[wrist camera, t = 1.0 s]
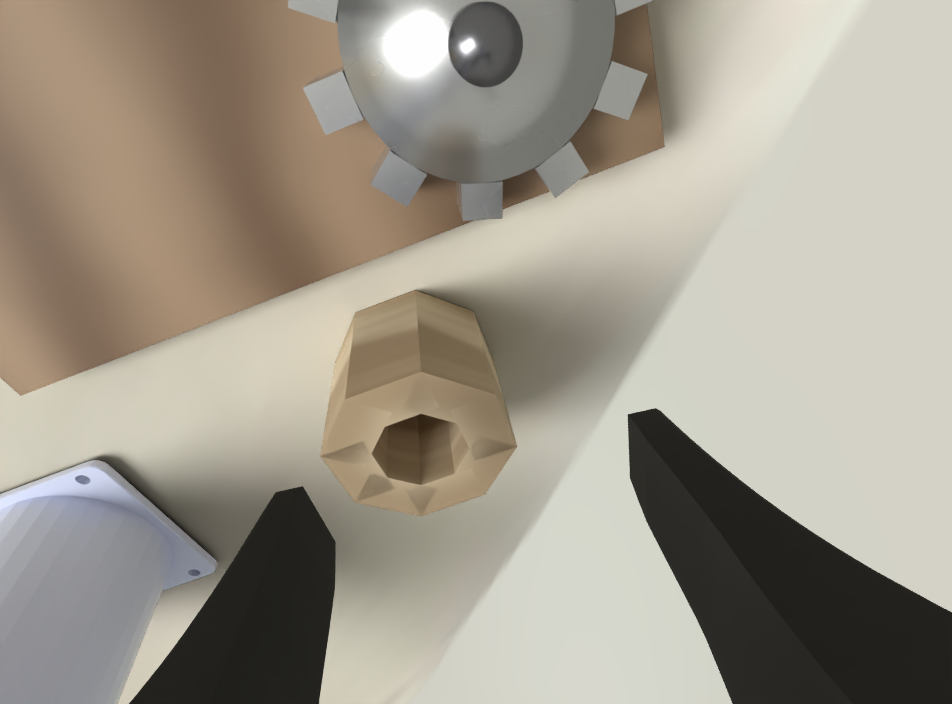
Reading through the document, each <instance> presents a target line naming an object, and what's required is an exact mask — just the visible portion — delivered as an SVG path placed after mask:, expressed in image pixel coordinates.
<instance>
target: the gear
mask: <svg viewBox="0 0 952 704" xmlns="http://www.w3.org/2000/svg"><path fill="white" fill-rule="evenodd" d="M651 1H653V0H288V8H290V9H293V10H296V11H299V12H302V13H305V14H308V15H311V16H314V17H317V18H320V19H323V20H327V21H330V22H333V23H338V39H339V47H340V54H341V59H342V63H343V67H340V68H338V69H336V70H333V71H331V72H329V73H326V74H324V75H321V76H319V77H317V78H314V79H312V80H310V81H309V82H308V83H307V84H306V85H305V86H304V87H303V90H304V92H305V94H306V96H307V98H308V100H309V102H310V104H311V106H312V108H313V110H314V112H315V114H316V116H317V118H318V120H319V122H320V124H321V126H322V128H323V130H324V132H325V135H327V134H329V133H332V132H334V131H337V130H339V129H342V128H344V127H346V126H349V125H351V124H354V123H356V122H359V121H361V120H363V119H364V117H365V119H366V120H367V122H368V123H369V125H370V126H371V128H372V129H373V130H374V131H375V133H376V134H377V135H378V136H379V137H380V138H381V140H382V141H383V142H384V143H385V144H386V146H385V148H384V150H383V152H382V153H381V155H380V157H379V159H378V160H377V162H376V164H375V166H374V167H373V169H372V176H371V184H370V185H372V186H373V187H375V188H377V189H378V190H380V191H382V192H383V193H385V194H387V195H388V196H390V197H391V198H393V199H395V200H396V201H398V202H400V203H401V204H403V205H405V206H406V207H408V205H409V204H410V202H411V200H412V199H413V197H414V196H415V194H416V192H417V191H418V189H419V188H420V186H421V184H422V183H423V181H424V179H425V178H426V176H427V173H429V174H431V175H434V176H437V177H439V178H442V179H447V180H451V181H456V183H457V204H458V207H459V210H460V214H461V217H462V220H463V221H470V220H485V219H500V218H502V197H503V182H502V180H504V179H508V178H511V177H514V176H517V175H520V174H522V173H524V172H526V171H528V170H531V169H534V171H535V172H536V173H537V175H538V176H539V178H540V179H541V181H542V182H543V183H544V185H545V186H546V187H547V188H548V190H549V191H550V192H551V193H552V194H553V196H554V197H555V198H556V197H557V196H559V195H560V194H561V193H562V192H564V191H565V190H566V189H568V188H569V187H570V186H572V185H573V184H574V183H576V182H577V181H578V180H579V179H581V178H582V177H583V176H585V175H586V174H587V173H589V171H588V169H587V168H586V166H585V164H584V163H583V161H582V159H581V158H580V156H579V155H578V153H577V151H576V150H575V148H574V146H573V145H572V143H571V142H570V141H569V140H570V139H571V138H572V136H573V135H574V134H575V133H576V131H577V130H578V129H579V128H580V126H581V125H582V124H583V122H584V121H585V119H586V117H587V116H588V114H589V113H590V111H591V109H592V108H593V109H596V110H599V111H602V112H605V113H608V114H611V115H614V116H617V117H620V118H623V119H626V120H629V118H630V115H631V113H632V111H633V108H634V106H635V103H636V101H637V99H638V96H639V94H640V91H641V89H642V87H643V84H644V82H645V79H646V77H647V75H648V74H646V73H644V72H641V71H638V70H635V69H632V68H630V67H627V66H624V65H621V64H619V63H616V62H613V61H610V59H611V54H612V49H613V40H614V32H615V15H619V14H622V13H624V12H626V11H629V10H631V9H634V8H636V7H639V6H641V5H643V4H646V3H648V2H651Z"/></svg>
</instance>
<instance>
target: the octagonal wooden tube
mask: <svg viewBox="0 0 952 704" xmlns="http://www.w3.org/2000/svg"><path fill="white" fill-rule="evenodd" d="M516 447H517V445H516V441H515V437H514V434H513V430H512V427H511V423H510V419H509V416H508V412H507V409H506V405H505V401H504V398H503V394H502V391H501V387H500V383H499V380H498V376H497V373H496V369H495V365H494V362H493V358H492V356H491V353H490V351H489V348H488V346H487V344H486V341H485V339H484V336H483V334H482V331H481V329H480V326H479V324H478V322H477V319H476V317H475V314H474V312H473V311H471V310H469V309H466V308H463V307H460V306H457V305H455V304H452V303H449V302H446V301H444V300H441V299H438V298H435V297H433V296H430V295H427V294H424V293H422V292H419V291H416V290H414V291H412V292H409V293H406V294H404V295H401V296H398V297H396V298H393V299H390V300H388V301H385V302H383V303H380V304H377V305H375V306H372V307H369V308H367V309H364V310H361V311H359V312H356V313H355V315H354V318H353V320H352V323H351V325H350V327H349V330H348V332H347V335H346V337H345V340H344V342H343V345H342V347H341V350H340V352H339V355H338V357H337V360H336V362H335V368H334V375H333V381H332V387H331V393H330V399H329V406H328V412H327V418H326V424H325V430H324V437H323V443H322V449H321V455H320V457H321V458H322V459H323V461H324V462H325V463H326V465H327V466H328V467H329V469H330V470H331V471H332V473H333V474H334V475H335V477H336V478H337V479H338V480H339V482H340V483H341V484H342V486H343V487H344V488H345V490H346V491H347V492H348V494H349V495H350V496H351V498H352V499H353V500H354V502H355V503H360V504H365V505H369V506H374V507H379V508H384V509H389V510H394V511H399V512H403V513H408V514H413V515H418V516H423V515H426V514H429V513H432V512H435V511H438V510H441V509H444V508H447V507H450V506H453V505H455V504H458V503H461V502H464V501H467V500H470V499H473V498H476V497H479V496H482V495H485V494H486V492H487V491H488V489H489V488H490V486H491V485H492V483H493V482H494V480H495V479H496V477H497V476H498V474H499V473H500V471H501V470H502V468H503V467H504V465H505V464H506V462H507V461H508V459H509V458H510V456H511V455H512V453H513V452H514V450H515V449H516Z"/></svg>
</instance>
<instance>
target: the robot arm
mask: <svg viewBox="0 0 952 704" xmlns="http://www.w3.org/2000/svg"><path fill="white" fill-rule="evenodd" d="M628 431H629V459H630V460H629V461H630V479H631V482H632V484H633V487H634V490H635V492H636V495H637V498H638V500H639V503H640V506H641V508H642V511H643V513H644V516H645V518H646V521H647V523H648V525H649V527H650V529H651V531H652V532H653V535H654V537H655V539H656V541H657V542H658V545H659V546H660V548H661V550H662V552H663V554H664V556H665V558H666V560H667V562H668V564H669V566H670V568H671V570H672V572H673V574H674V575H675V578H676V580H677V581H678V583H679V585H680V587H681V589H682V591H683V593H684V595H685V597H686V599H687V601H688V603H689V605H690V607H691V608H692V610H693V612H694V614H695V616H696V618H697V620H698V622H699V625H700V627H701V629H702V631H703V633H704V635H705V637H706V639H707V642H708V644H709V647H710V649H711V652H712V654H713V657H714V659H715V661H716V664H717V666H718V669H719V671H720V674H721V676H722V678H723V681H724V683H725V686H726V688H727V691H728V693H729V696H730V698H731V701H732V703H733V704H952V612H950V611H948V610H946V609H944V608H942V607H940V606H938V605H936V604H934V603H933V602H931V601H929V600H927V599H926V598H924V597H922V596H920V595H918V594H916V593H914V592H913V591H911V590H909V589H907V588H905V587H903V586H902V585H900V584H898V583H896V582H894V581H892V580H891V579H889V578H887V577H885V576H884V575H882V574H880V573H878V572H876V571H874V570H873V569H871V568H869V567H868V566H866V565H864V564H863V563H861V562H859V561H858V560H856V559H854V558H852V557H851V556H849V555H848V554H846V553H844V552H843V551H841V550H839V549H838V548H836V547H835V546H833V545H832V544H830V543H828V542H827V541H825V540H824V539H822V538H821V537H819V536H817V535H816V534H814V533H813V532H811V531H810V530H808V529H807V528H805V527H804V526H802V525H801V524H799V523H798V522H796V521H795V520H793V519H792V518H791V517H789V516H788V515H786V514H785V513H784V512H782V511H781V510H779V509H778V508H777V507H775V506H774V505H773V504H771V503H770V502H768V501H767V500H766V499H764V498H763V497H762V496H760V495H759V494H757V493H756V492H755V491H754V490H752V489H751V488H750V487H748V486H747V485H746V484H744V483H743V482H742V481H741V480H739V479H738V478H737V477H736V476H735V475H733V474H732V473H731V472H730V471H728V470H727V469H726V468H724V467H723V466H722V465H721V464H720V463H718V462H717V461H716V460H715V459H713V458H712V457H711V456H710V455H709V454H708V453H706V452H705V451H704V450H703V449H702V448H701V447H700V446H698V445H697V444H696V443H695V442H694V441H693V440H691V439H690V438H689V437H688V436H687V435H686V434H685V433H683V431H681V430H680V429H679V428H678V427H677V426H676V425H675V424H674V423H673V422H672V421H671V420H669V419H668V418H667V417H666V416H665V415H664V414H663V413H662V412H661V411H659V410H658V409H650V410H646V411H641V412H637V413H632V414H628ZM86 476H87V477H86ZM216 566H217V562H216V560H215V559H214V558H213V557H212V556H210V555H209V554H208V553H207V552H206V551H205V550H204V549H203V548H201V547H200V546H199V545H198V544H197V543H196V542H195V541H194V540H193V539H191V538H190V537H189V536H188V535H187V534H186V533H185V532H184V531H182V530H181V529H180V528H179V527H178V526H177V525H176V524H175V523H173V522H172V521H171V520H170V519H169V518H168V517H167V516H166V515H164V514H163V513H162V512H161V511H160V510H159V509H158V508H157V507H155V506H154V505H153V504H152V503H151V502H150V501H149V500H148V499H146V498H145V497H144V496H143V495H142V494H141V493H140V492H139V491H138V490H136V489H135V488H134V487H133V486H132V485H131V484H130V483H129V482H127V481H126V480H125V479H124V478H123V477H122V476H121V475H120V474H118V473H117V472H116V471H115V470H114V469H113V468H112V467H111V466H109V465H108V464H107V463H105V462H102V461H98V460H93V461H88V462H85V463H83V464H80V465H77V466H75V467H72V468H69V469H66V470H64V471H61V472H58V473H56V474H53V475H50V476H48V477H45V478H42V479H39V480H37V481H34V482H31V483H29V484H26V485H23V486H21V487H18V488H15V489H12V490H10V491H7V492H4V493H2V494H0V704H118V701H119V699H120V696H121V694H122V691H123V689H124V686H125V684H126V681H127V679H128V676H129V673H130V671H131V668H132V666H133V663H134V661H135V658H136V656H137V653H138V651H139V648H140V646H141V643H142V640H143V638H144V635H145V633H146V630H147V628H148V625H149V623H150V620H151V618H152V615H153V612H154V610H155V607H156V605H157V602H158V600H159V597H160V595H161V592H162V591H163V590H166V589H169V588H172V587H175V586H178V585H181V584H183V583H186V582H189V581H192V580H195V579H198V578H201V577H204V576H207V575H210V574H212V573H214V571H215V569H216ZM334 590H335V540H334V539H333V537H332V535H331V534H330V532H329V530H328V528H327V527H326V525H325V523H324V522H323V520H322V518H321V517H320V515H319V513H318V511H317V510H316V508H315V506H314V505H313V503H312V501H311V500H310V498H309V496H308V495H307V493H306V491H305V489H304V488H303V486H302V487H298V488H293V489H289V490H284V491H280V492H276V493H275V494H274V496H273V498H272V499H271V501H270V502H269V504H268V505H267V507H266V508H265V510H264V512H263V513H262V515H261V516H260V518H259V520H258V521H257V523H256V525H255V526H254V528H253V529H252V531H251V533H250V534H249V536H248V538H247V539H246V541H245V542H244V544H243V546H242V547H241V549H240V550H239V552H238V554H237V555H236V557H235V558H234V560H233V561H232V563H231V565H230V566H229V568H228V569H227V571H226V572H225V574H224V575H223V577H222V578H221V580H220V582H219V583H218V585H217V586H216V588H215V589H214V591H213V592H212V594H211V595H210V597H209V598H208V600H207V601H206V603H205V604H204V605H203V607H202V608H201V610H200V611H199V613H198V614H197V616H196V617H195V618H194V620H193V621H192V623H191V624H190V626H189V627H188V628H187V630H186V631H185V633H184V634H183V636H182V637H181V638H180V640H179V641H178V642H177V644H176V645H175V646H174V648H173V649H172V650H171V652H170V653H169V655H168V656H167V657H166V658H165V660H164V661H163V662H162V664H161V665H160V666H159V667H158V669H157V670H156V671H155V672H154V674H153V675H152V676H151V677H150V679H149V680H148V681H147V682H146V684H145V685H144V686H143V687H142V689H141V690H140V691H139V692H138V694H137V695H136V696H135V697H134V699H133V700H132V701H131V702H130V703H129V704H319V697H320V690H321V683H322V676H323V669H324V662H325V655H326V648H327V642H328V635H329V628H330V620H331V613H332V606H333V598H334Z"/></svg>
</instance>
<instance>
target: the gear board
mask: <svg viewBox="0 0 952 704" xmlns="http://www.w3.org/2000/svg"><path fill="white" fill-rule="evenodd" d="M610 61H613V62H616V63H619V64H621V65H624V66H627V67H630V68H632V69H635V70H638V71H641V72H644V73H646V74H648V75H647V77H646V79H645V82H644V84H643V87H642V89H641V91H640V94H639V96H638V99H637V101H636V103H635V106H634V108H633V111H632V113H631V115H630V118H629V120H626V119H623V118H620V117H617V116H614V115H611V114H608V113H605V112H602V111H599V110H596V109H593V108H592V109H591V111H590V113H589V114H588V116H587V117H586V119H585V121H584V122H583V124H582V125H581V126H580V128H579V129H578V130H577V131H576V133H575V134H574V135H573V136H572V138H571V139H570V140H569V141H570V142H571V143H572V145H573V146H574V148H575V150H576V151H577V153H578V155H579V156H580V158H581V159H582V161H583V163H584V164H585V166H586V168H587V169H588V171H589V173H587V174H586V175H585V176H583V177H582V178H581V179H583V178H585V177H588V176H590V175H593V174H596V173H598V172H601V171H603V170H606V169H608V168H611V167H614V166H616V165H619V164H621V163H624V162H627V161H629V160H632V159H634V158H637V157H640V156H642V155H645V154H647V153H650V152H652V151H655V150H658V149H660V148H663V147H665V145H664V137H663V129H662V121H661V114H660V106H659V98H658V90H657V82H656V74H655V66H654V58H653V50H652V42H651V34H650V27H649V19H648V11H647V3H646V4H643V5H641V6H639V7H636V8H634V9H631V10H629V11H626V12H624V13H622V14H619V15H615V32H614V40H613V49H612V54H611V59H610ZM340 67H343V63H342V59H341V54H340V47H339V39H338V23H333V22H330V21H327V20H323V19H320V18H317V17H314V16H311V15H308V14H305V13H302V12H299V11H296V10H293V9H290V8H288V0H0V378H1V379H2V380H3V381H5V382H6V383H7V384H8V385H9V386H10V387H11V388H13V389H14V390H15V391H16V392H17V393H18V394H19V395H20V396H21V395H24V394H26V393H29V392H32V391H34V390H37V389H39V388H42V387H44V386H47V385H50V384H52V383H55V382H57V381H60V380H63V379H65V378H68V377H70V376H73V375H76V374H78V373H81V372H83V371H86V370H88V369H91V368H94V367H96V366H99V365H101V364H104V363H107V362H109V361H112V360H114V359H117V358H120V357H122V356H125V355H127V354H130V353H132V352H135V351H138V350H140V349H143V348H145V347H148V346H151V345H153V344H156V343H158V342H161V341H164V340H166V339H169V338H171V337H174V336H176V335H179V334H182V333H184V332H187V331H189V330H192V329H195V328H197V327H200V326H202V325H205V324H207V323H210V322H213V321H215V320H218V319H220V318H223V317H226V316H228V315H231V314H233V313H236V312H239V311H241V310H244V309H246V308H249V307H251V306H254V305H257V304H259V303H262V302H264V301H267V300H270V299H272V298H275V297H277V296H280V295H283V294H285V293H288V292H290V291H293V290H295V289H298V288H301V287H303V286H306V285H308V284H311V283H314V282H316V281H319V280H321V279H324V278H326V277H329V276H332V275H334V274H337V273H339V272H342V271H345V270H347V269H350V268H352V267H355V266H358V265H360V264H363V263H365V262H368V261H370V260H373V259H376V258H378V257H381V256H383V255H386V254H389V253H391V252H394V251H396V250H399V249H402V248H404V247H407V246H409V245H412V244H414V243H417V242H420V241H422V240H425V239H427V238H430V237H433V236H435V235H438V234H440V233H443V232H445V231H448V230H451V229H453V228H456V227H458V226H461V225H464V224H466V223H469V222H471V221H474V220H470V221H463V220H462V217H461V214H460V210H459V207H458V204H457V183H456V181H451V180H447V179H442V178H439V177H437V176H434V175H431V174H429V173H427V176H426V178H425V179H424V181H423V183H422V184H421V186H420V188H419V189H418V191H417V192H416V194H415V196H414V197H413V199H412V200H411V202H410V204H409V205H408V207H406V206H405V205H403V204H401V203H400V202H398V201H396V200H395V199H393V198H391V197H390V196H388V195H387V194H385V193H383V192H382V191H380V190H378V189H377V188H375V187H373V186H372V185H370V184H371V176H372V169H373V167H374V166H375V164H376V162H377V160H378V159H379V157H380V155H381V153H382V152H383V150H384V148H385V146H386V144H385V143H384V142H383V141H382V140H381V138H380V137H379V136H378V135H377V134H376V133H375V131H374V130H373V129H372V128H371V126H370V125H369V123H368V122H367V120H366V119H365V117H364V119H363V120H361V121H359V122H356V123H354V124H351V125H349V126H346V127H344V128H342V129H339V130H337V131H334V132H332V133H329V134H327V135H325V132H324V130H323V128H322V126H321V124H320V122H319V120H318V118H317V116H316V114H315V112H314V110H313V108H312V106H311V104H310V102H309V100H308V98H307V96H306V94H305V92H304V90H303V87H304V86H305V85H306V84H307V83H308V82H309V81H310V80H312V79H314V78H317V77H319V76H321V75H324V74H326V73H329V72H331V71H333V70H336V69H338V68H340ZM579 180H580V179H579ZM502 182H503V197H502V209H505V208H508V207H510V206H513V205H515V204H518V203H521V202H523V201H526V200H528V199H531V198H533V197H536V196H539V195H541V194H544V193H546V192H549V190H548V188H547V187H546V186H545V185H544V183H543V182H542V181H541V179H540V178H539V176H538V175H537V173H536V172H535V171H534V169H531V170H528V171H526V172H524V173H522V174H520V175H517V176H514V177H511V178H508V179H504V180H502Z"/></svg>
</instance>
